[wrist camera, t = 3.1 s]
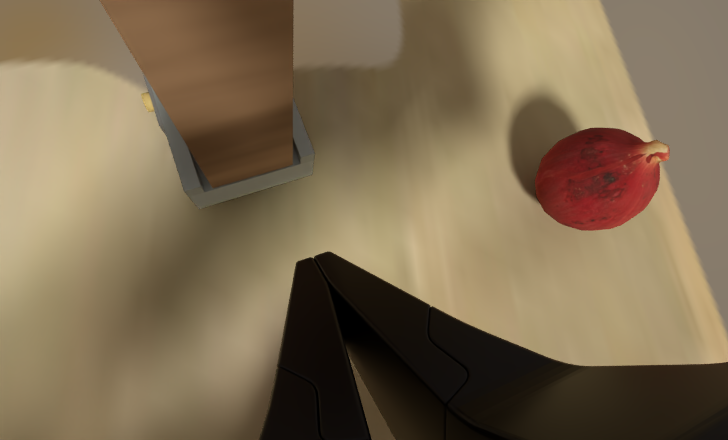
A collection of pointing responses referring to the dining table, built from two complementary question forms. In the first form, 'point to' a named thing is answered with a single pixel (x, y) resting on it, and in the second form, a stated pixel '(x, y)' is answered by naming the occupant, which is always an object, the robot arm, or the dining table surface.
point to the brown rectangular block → (218, 77)
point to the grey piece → (207, 196)
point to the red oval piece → (599, 178)
